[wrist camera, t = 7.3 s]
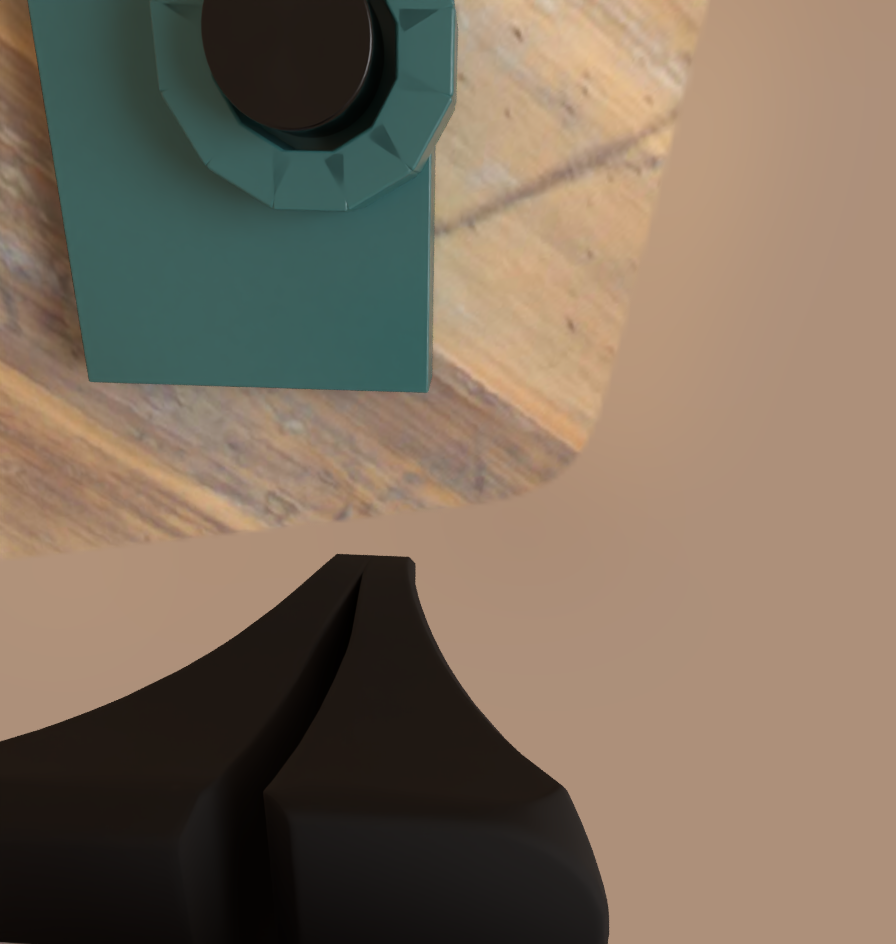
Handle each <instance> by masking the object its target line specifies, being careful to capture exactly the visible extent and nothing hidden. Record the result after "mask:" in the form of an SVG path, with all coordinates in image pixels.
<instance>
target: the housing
mask: <svg viewBox="0 0 896 944" xmlns="http://www.w3.org/2000/svg"><path fill="white" fill-rule="evenodd" d="M27 1H28V7H29V13H30V19H31V25H32V31H33V38H34V44H35V50H36V56H37V62H38V69H39V75H40V81H41V87H42V93H43V100H44V106H45V112H46V118H47V124H48V131H49V137H50V143H51V149H52V155H53V162H54V168H55V174H56V180H57V186H58V192H59V199H60V205H61V211H62V217H63V223H64V230H65V236H66V242H67V248H68V254H69V261H70V267H71V273H72V279H73V285H74V292H75V298H76V304H77V310H78V316H79V322H80V329H81V335H82V341H83V347H84V353H85V360H86V366H87V372H88V378H89V381H90V382H105V383H137V384H168V385H199V386H230V387H261V388H292V389H324V390H355V391H386V392H417V393H427V392H428V391H429V387H430V383H431V379H432V349H433V282H434V215H435V147H436V143H437V142H438V140H439V138H440V136H441V134H442V132H443V131H444V129H445V127H446V125H447V123H448V122H449V120H450V118H451V116H452V114H453V112H454V111H455V104H456V92H457V50H458V24H457V16H456V10H455V4H454V0H369V1H370V3H371V5H372V6H373V8H374V11H375V13H376V15H377V17H378V20H379V24H380V27H381V30H382V36H383V41H384V67H383V73H382V78H381V81H380V85H379V88H378V90H377V92H376V95H375V97H374V99H373V101H372V102H371V104H370V106H369V107H368V108H367V110H366V111H365V112H364V114H363V115H362V116H361V117H360V118H359V119H358V120H357V121H356V122H354V123H353V124H352V125H350V126H349V127H348V128H346V129H344V130H342V131H340V132H338V133H335V134H333V135H330V136H325V137H320V138H304V137H298V136H293V135H290V134H287V133H283V132H280V131H277V130H274V129H271V128H268V127H266V126H263V125H261V124H259V123H257V122H255V121H253V120H251V119H250V118H248V117H247V116H246V115H244V114H243V113H242V112H240V111H239V110H238V109H237V108H236V107H235V106H234V105H233V104H232V103H231V102H230V101H229V100H228V98H227V97H226V96H225V95H224V94H223V92H222V91H221V89H220V88H219V86H218V85H217V83H216V81H215V79H214V77H213V75H212V73H211V71H210V68H209V65H208V63H207V60H206V56H205V52H204V49H203V43H202V36H201V15H202V6H203V1H204V0H27Z"/></svg>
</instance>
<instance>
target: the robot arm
mask: <svg viewBox="0 0 896 944" xmlns="http://www.w3.org/2000/svg"><path fill="white" fill-rule="evenodd" d="M608 937H609V912H608V904H607V898H606V894H605V890H604V885H603V882H602V879H601V875H600V872H599V869H598V866H597V863H596V860H595V856H594V854H593V850H592V848H591V845H590V843H589V840H588V837H587V835H586V832H585V830H584V827H583V825H582V822H581V820H580V818H579V816H578V813H577V811H576V809H575V807H574V804H573V802H572V800H571V798H570V796H569V794H568V792H567V790H566V789H565V788H564V787H563V786H562V785H561V784H559V783H558V782H557V781H556V780H554V779H553V778H551V777H550V776H549V775H548V774H546V773H545V772H544V771H543V770H541V769H540V768H539V767H537V766H536V765H535V764H533V763H532V762H531V761H530V760H528V759H527V758H525V757H524V756H523V755H522V754H521V753H520V752H518V751H517V750H516V749H515V748H514V747H513V746H512V745H511V744H510V743H509V742H508V741H507V740H506V739H505V738H504V737H503V736H502V735H501V734H500V733H499V731H498V730H497V729H496V728H495V727H494V726H493V725H492V723H491V722H490V721H489V720H488V719H487V718H486V717H485V715H484V714H483V713H482V712H481V711H480V710H479V709H478V707H477V706H476V705H475V704H474V702H473V701H472V700H471V698H470V697H469V696H468V694H467V693H466V691H465V690H464V689H463V687H462V686H461V684H460V683H459V681H458V680H457V678H456V677H455V675H454V674H453V672H452V670H451V669H450V667H449V665H448V664H447V662H446V660H445V659H444V657H443V655H442V653H441V651H440V649H439V647H438V645H437V643H436V641H435V639H434V637H433V635H432V632H431V630H430V628H429V625H428V623H427V620H426V618H425V615H424V612H423V610H422V607H421V604H420V601H419V598H418V593H417V589H416V585H415V563H414V562H413V561H412V560H411V558H409V557H397V556H374V555H349V554H336V555H335V556H334V557H333V558H332V559H330V560H329V561H328V562H327V563H326V564H325V565H323V566H322V567H321V568H320V569H319V570H318V571H317V572H315V573H314V574H313V575H312V576H311V577H310V578H309V579H308V580H306V581H305V582H304V583H303V584H302V585H301V586H300V587H298V588H297V589H296V590H295V591H294V592H293V593H291V594H290V595H289V596H288V597H287V598H285V599H284V600H283V601H282V602H281V603H279V604H278V605H277V606H276V607H274V608H273V609H272V610H270V611H269V612H268V613H266V614H265V615H264V616H262V617H261V618H260V619H259V620H257V621H256V622H254V623H253V624H251V625H250V626H249V627H247V628H246V629H245V630H244V631H242V632H241V633H239V634H238V635H237V636H235V637H234V638H232V639H231V640H229V641H228V642H226V643H225V644H223V645H221V646H220V647H218V648H217V649H215V650H214V651H212V652H210V653H209V654H207V655H205V656H203V657H202V658H200V659H198V660H196V661H195V662H193V663H191V664H190V665H188V666H186V667H184V668H182V669H181V670H179V671H177V672H175V673H173V674H171V675H169V676H167V677H164V678H163V679H160V680H158V681H156V682H154V683H152V684H150V685H148V686H146V687H144V688H142V689H140V690H138V691H136V692H134V693H132V694H130V695H128V696H125V697H123V698H121V699H118V700H116V701H114V702H111V703H109V704H107V705H104V706H102V707H99V708H97V709H94V710H92V711H89V712H87V713H84V714H81V715H79V716H76V717H73V718H71V719H68V720H65V721H63V722H60V723H57V724H54V725H51V726H48V727H45V728H43V729H40V730H37V731H33V732H30V733H27V734H24V735H20V736H17V737H14V738H10V739H7V740H4V741H1V742H0V944H608Z"/></svg>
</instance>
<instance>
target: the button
mask: <svg viewBox="0 0 896 944" xmlns="http://www.w3.org/2000/svg"><path fill="white" fill-rule="evenodd" d="M201 36H202V43H203V49H204V52H205V56H206V60H207V63H208V65H209V68H210V71H211V73H212V75H213V77H214V79H215V81H216V83H217V85H218V86H219V88H220V89H221V91H222V92H223V94H224V95H225V96H226V97H227V98H228V100H229V101H230V102H231V103H232V104H233V105H234V106H235V107H236V108H237V109H238V110H239V111H240V112H242V113H243V114H244V115H246V116H247V117H248V118H250V119H251V120H253V121H255V122H257V123H259V124H261V125H263V126H266V127H268V128H271V129H274V130H277V131H280V132H283V133H287V134H290V135H293V136H298V137H304V138H320V137H325V136H330V135H333V134H335V133H338V132H340V131H342V130H344V129H346V128H348V127H349V126H350V125H352V124H353V123H354V122H356V121H357V120H358V119H359V118H360V117H361V116H362V115H363V114H364V112H365V111H366V110H367V108H368V107H369V106H370V104H371V102H372V101H373V99H374V97H375V95H376V92H377V90H378V88H379V85H380V81H381V78H382V73H383V67H384V41H383V36H382V30H381V27H380V24H379V20H378V17H377V15H376V13H375V11H374V8H373V6H372V5H371V3H370V1H369V0H204V1H203V6H202V15H201Z"/></svg>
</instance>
